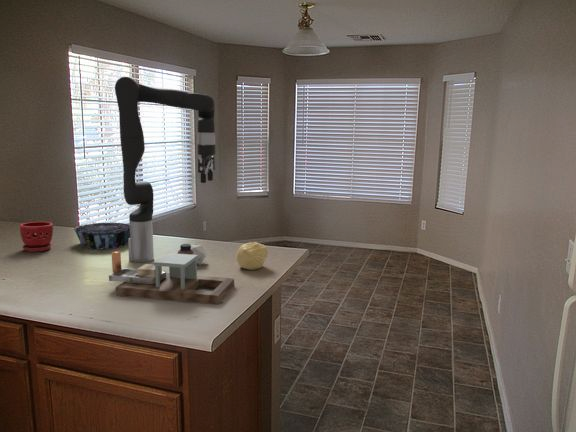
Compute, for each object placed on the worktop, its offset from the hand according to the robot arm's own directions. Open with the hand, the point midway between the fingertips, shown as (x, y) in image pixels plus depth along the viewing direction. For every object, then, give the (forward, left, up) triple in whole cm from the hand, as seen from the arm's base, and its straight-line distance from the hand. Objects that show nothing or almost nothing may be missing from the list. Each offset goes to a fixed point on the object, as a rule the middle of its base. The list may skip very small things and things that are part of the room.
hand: (206, 181), depth 204 cm
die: (-1, -12, -33) cm, 35 cm away
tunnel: (+5, -45, -30) cm, 54 cm away
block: (-5, -45, -30) cm, 54 cm away
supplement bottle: (0, -25, -33) cm, 42 cm away
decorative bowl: (-55, +8, -34) cm, 65 cm away
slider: (-10, -45, -30) cm, 55 cm away
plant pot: (-78, -8, -33) cm, 85 cm away
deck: (+5, -45, -33) cm, 56 cm away
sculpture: (+23, -12, -33) cm, 42 cm away
